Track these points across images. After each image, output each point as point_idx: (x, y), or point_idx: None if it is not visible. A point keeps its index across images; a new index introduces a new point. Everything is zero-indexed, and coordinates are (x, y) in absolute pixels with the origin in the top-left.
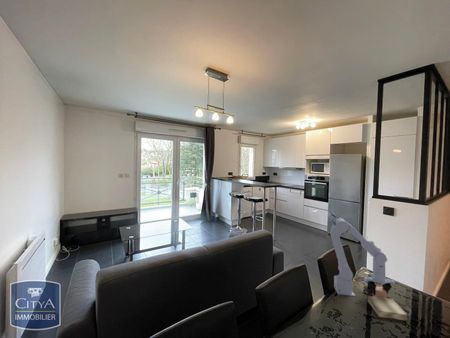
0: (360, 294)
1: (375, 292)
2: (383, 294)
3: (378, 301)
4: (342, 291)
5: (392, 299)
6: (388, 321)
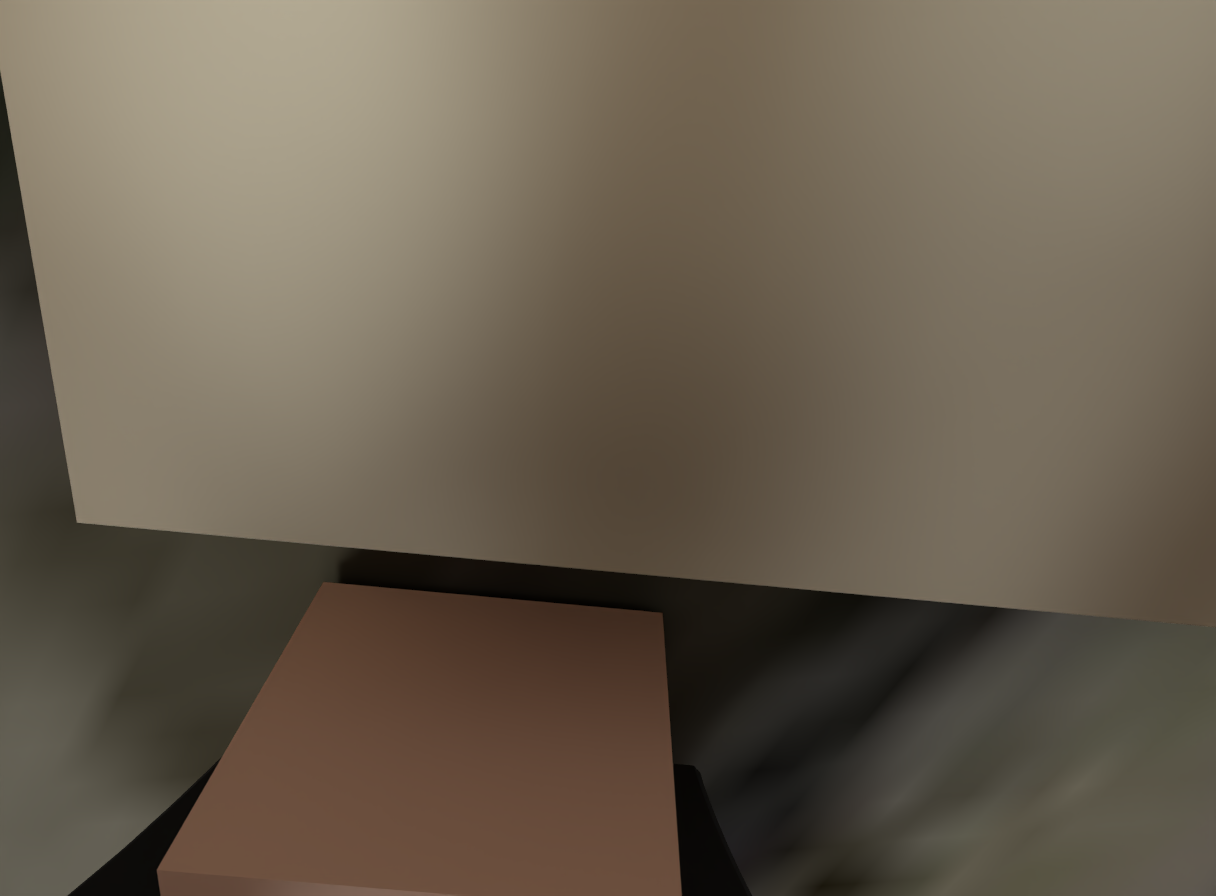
0: (1039, 815)
1: None
2: (371, 761)
3: (1026, 181)
4: None
5: (105, 463)
6: None
